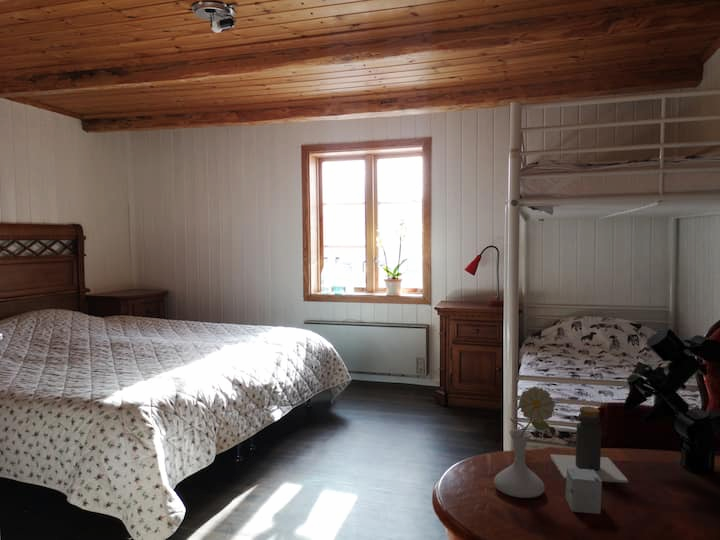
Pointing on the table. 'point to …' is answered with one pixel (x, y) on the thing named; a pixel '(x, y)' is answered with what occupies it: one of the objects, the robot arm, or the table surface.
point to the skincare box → (583, 490)
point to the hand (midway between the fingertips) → (632, 416)
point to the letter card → (605, 473)
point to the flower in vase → (518, 475)
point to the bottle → (588, 439)
